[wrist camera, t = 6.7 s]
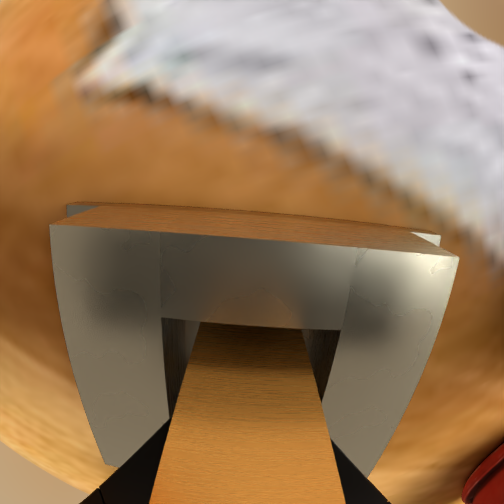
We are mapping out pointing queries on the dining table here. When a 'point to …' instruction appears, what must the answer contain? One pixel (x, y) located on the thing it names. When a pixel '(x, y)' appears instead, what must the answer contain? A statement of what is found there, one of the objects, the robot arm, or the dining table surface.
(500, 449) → the plant pot
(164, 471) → the rectangular wooden peg
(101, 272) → the grey metal frame fixture
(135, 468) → the robot arm
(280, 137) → the dining table surface
